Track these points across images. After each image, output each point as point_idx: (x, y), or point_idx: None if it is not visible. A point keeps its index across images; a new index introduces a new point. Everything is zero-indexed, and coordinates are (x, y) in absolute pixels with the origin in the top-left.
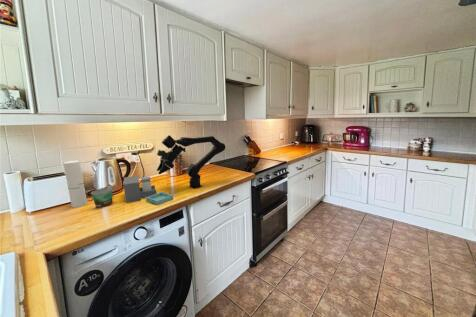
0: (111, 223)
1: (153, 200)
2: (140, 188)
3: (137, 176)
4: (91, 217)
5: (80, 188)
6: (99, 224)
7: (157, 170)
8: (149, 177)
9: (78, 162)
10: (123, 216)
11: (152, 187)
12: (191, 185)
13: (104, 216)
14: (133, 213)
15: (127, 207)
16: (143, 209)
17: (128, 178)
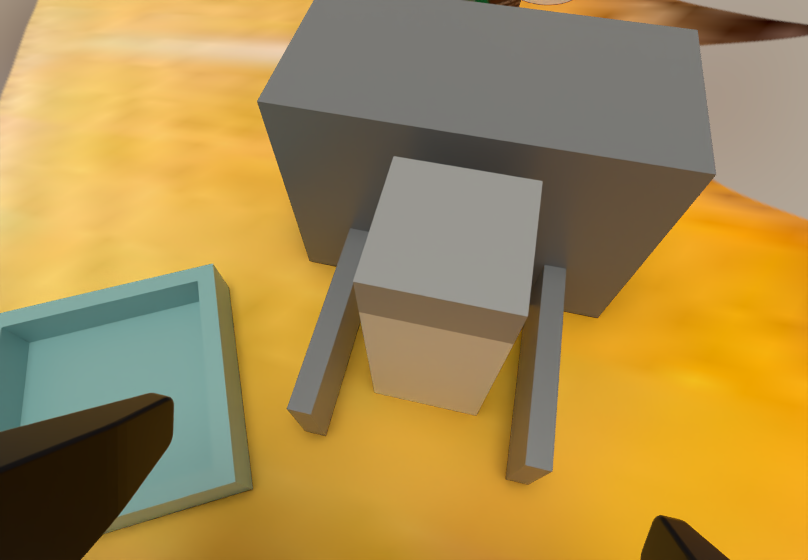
0: (67, 54)
1: (67, 301)
2: (541, 278)
3: (666, 157)
4: (261, 5)
5: None
6: (119, 20)
7: (652, 544)
8: (434, 288)
9: None
10: (96, 107)
11: (522, 432)
12: None
13: (210, 43)
14: (77, 156)
15: (236, 150)
16: (72, 221)
17: (606, 55)
